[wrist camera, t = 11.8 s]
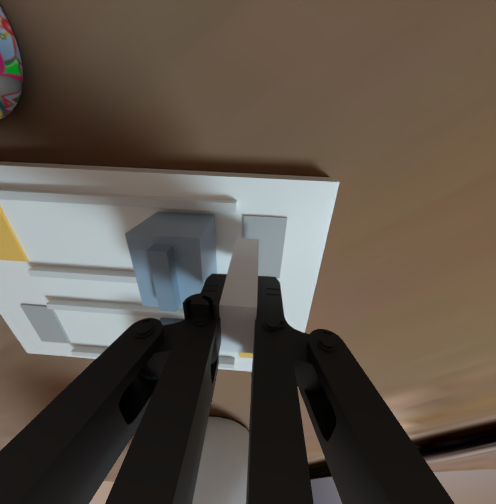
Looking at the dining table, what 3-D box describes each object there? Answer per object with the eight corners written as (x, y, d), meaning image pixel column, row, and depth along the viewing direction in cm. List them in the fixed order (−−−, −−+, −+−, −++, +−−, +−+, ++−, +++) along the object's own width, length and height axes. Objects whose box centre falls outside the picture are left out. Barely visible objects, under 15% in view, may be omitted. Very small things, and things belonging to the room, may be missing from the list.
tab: (167, 271, 17) (136, 314, 13) (157, 211, 15) (115, 239, 10) (217, 274, 17) (201, 319, 13) (214, 214, 15) (195, 244, 10)
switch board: (43, 338, 26) (19, 359, 23) (-65, 158, 16) (-124, 161, 14) (292, 358, 24) (295, 382, 22) (330, 177, 15) (343, 184, 13)
